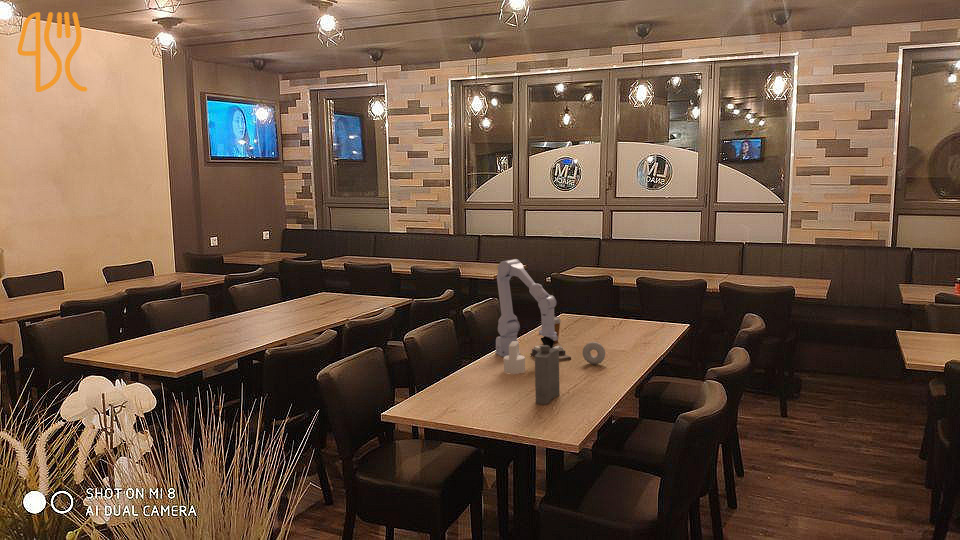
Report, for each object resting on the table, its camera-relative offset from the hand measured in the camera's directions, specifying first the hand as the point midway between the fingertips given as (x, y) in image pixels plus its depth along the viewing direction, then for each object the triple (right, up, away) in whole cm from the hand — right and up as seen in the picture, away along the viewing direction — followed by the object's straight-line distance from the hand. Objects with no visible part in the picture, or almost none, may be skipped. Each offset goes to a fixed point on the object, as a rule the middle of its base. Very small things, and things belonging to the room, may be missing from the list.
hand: (548, 353), depth 323 cm
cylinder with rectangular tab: (-16, -6, -15) cm, 23 cm away
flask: (-6, -11, -54) cm, 55 cm away
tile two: (+4, 0, +7) cm, 8 cm away
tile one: (-3, 0, +9) cm, 9 cm away
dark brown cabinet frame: (+1, -3, +6) cm, 7 cm away
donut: (+19, -4, -8) cm, 21 cm away
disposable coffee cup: (+5, +1, +36) cm, 36 cm away
